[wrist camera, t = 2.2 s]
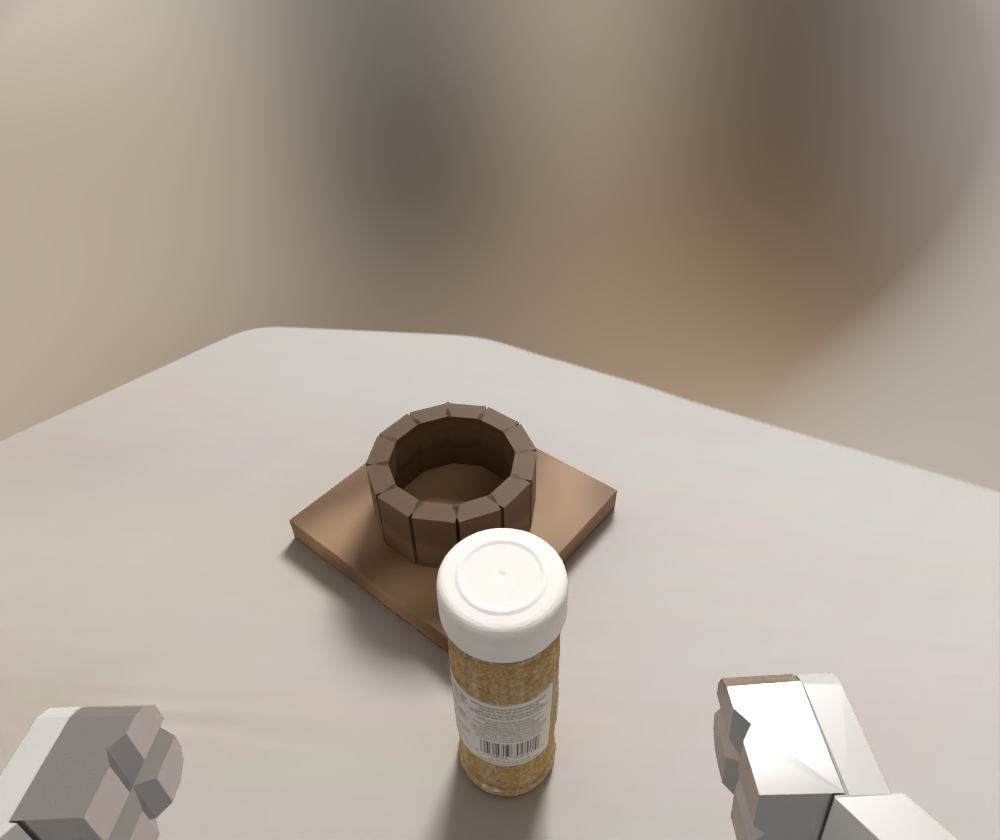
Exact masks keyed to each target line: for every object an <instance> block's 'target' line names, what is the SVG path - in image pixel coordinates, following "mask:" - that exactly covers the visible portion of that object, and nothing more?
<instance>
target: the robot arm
mask: <svg viewBox="0 0 1000 840" xmlns="http://www.w3.org/2000/svg"><path fill="white" fill-rule="evenodd" d="M717 695H718V699H719V703H720V707H721V709H719V710H718V711H717V712H716V713H715V716H714V742H715V751H716V757H717V762H718V767H719V771H720V775H721V779H722V783H723V784H724V785H725V786H726V787H727V788H728V789H729V790H730V791H731V792H732V793H733V794H734V798H733V805H732V812H731V819H732V823H733V827H734V830H735V834H736V838H737V840H958V839H956V838H955V837H954V836H953V835H952V834H951V833H949V832H948V831H947V830H946V829H945V828H944V827H943V826H941V825H940V824H939V823H938V822H937V821H936V820H934V819H933V818H932V817H931V816H930V815H929V814H928V813H926V812H925V811H924V810H923V809H922V808H921V807H919V806H918V805H917V804H916V803H915V802H914V801H913V800H911V799H910V798H909V797H908V796H907V795H906V794H904V793H892V792H891V790H890V788H889V786H888V783H887V781H886V779H885V777H884V775H883V772H882V770H881V768H880V766H879V764H878V761H877V759H876V757H875V755H874V753H873V751H872V748H871V746H870V744H869V742H868V740H867V737H866V735H865V733H864V731H863V729H862V727H861V724H860V722H859V720H858V718H857V716H856V713H855V711H854V709H853V707H852V705H851V702H850V700H849V698H848V696H847V694H846V692H845V689H844V687H843V685H842V683H841V681H840V680H839V679H838V678H837V677H836V676H835V675H834V674H832V673H820V674H804V675H793V674H784V675H768V676H752V677H736V678H722V679H721V680H720V682H719V684H718V691H717ZM163 719H164V717H163V716H162V714H161V713H160V712H159V710H158V709H157V707H156V706H155V705H130V706H101V707H65V708H49V709H47V710H46V711H45V712H44V713H43V714H41V715H40V716H39V717H38V718H37V719H36V720H35V721H34V723H33V725H32V726H31V728H30V729H29V731H28V733H27V734H26V736H25V737H24V739H23V740H22V742H21V744H20V745H19V747H18V748H17V750H16V751H15V753H14V755H13V756H12V758H11V759H10V761H9V763H8V764H7V766H6V767H5V769H4V770H3V772H2V774H1V775H0V840H157V839H158V837H159V830H158V826H157V821H156V818H157V817H158V816H159V815H160V814H161V813H162V812H163V811H164V810H165V809H166V808H167V807H168V806H169V805H170V804H171V803H172V802H173V800H174V797H175V794H176V792H177V789H178V787H179V784H180V781H181V774H182V766H183V756H182V750H181V745H180V744H179V742H178V740H177V739H176V737H175V736H174V735H173V734H171V733H169V732H167V731H166V730H164V729H162V728H160V726H161V723H162V721H163Z"/></svg>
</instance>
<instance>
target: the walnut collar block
mask: <svg viewBox="0 0 1000 840" xmlns="http://www.w3.org/2000/svg"><path fill="white" fill-rule="evenodd" d="M379 435H380V437H379V436H377V439H376V441H375V443H374V446H373V448H372V450H371V453H370V455H369V458H368V460H367V462H366V463H365V464H364V465H363V466H361V467H360V468H359V469H357V470H356V471H355V472H353V473H352V474H351V475H349V476H348V477H347V478H345V479H344V480H343V481H341V482H340V483H339V484H337V485H336V486H335V487H333V488H332V489H331V490H329V491H328V492H327V493H325V494H324V495H323V496H321V497H320V498H319V499H317V500H316V501H315V502H313V503H312V504H311V505H309V506H308V507H307V508H305V509H304V510H303V511H301V512H300V513H299V514H297V515H296V516H295V517H293V518H292V519H291V520H290V523H291V526H292V529H293V532H294V536H295V537H296V538H297V539H299V540H300V541H301V542H303V543H304V544H305V545H307V546H308V547H309V548H311V549H312V550H313V551H315V552H316V553H317V554H319V555H320V556H321V557H322V558H324V559H325V560H326V561H328V562H329V563H330V564H332V565H333V566H334V567H336V568H337V569H338V570H340V571H341V572H342V573H344V574H345V575H346V576H348V577H349V578H350V579H351V580H353V581H354V582H355V583H357V584H358V585H359V586H361V587H362V588H363V589H365V590H366V591H367V592H369V593H370V594H371V595H373V596H374V597H375V598H377V599H378V600H379V601H381V602H382V603H383V604H384V605H386V606H387V607H388V608H390V609H391V610H392V611H394V612H395V613H396V614H398V615H399V616H400V617H402V618H403V619H404V620H406V621H407V622H408V623H410V624H411V625H412V626H413V627H415V628H416V629H417V630H419V631H420V632H421V633H423V634H424V635H425V636H427V637H428V638H429V639H431V640H432V641H433V642H435V643H436V644H437V645H439V646H440V647H441V648H443V649H444V650H445V651H446V652H448V653H449V648H448V645H449V644H448V638H447V634H446V632H445V630H444V628H443V626H442V624H441V620H440V616H439V608H438V600H437V586H436V583H437V575H438V571H439V568H440V565H441V563H442V562H443V560H444V558H445V556H446V555H447V554H448V552H449V551H450V550H451V549H452V548H453V547H454V546H455V545H456V544H458V543H459V542H460V541H462V540H463V539H465V538H466V537H468V536H470V535H472V534H475V533H477V532H480V531H484V530H488V529H495V528H510V529H517V530H522V531H526V532H529V533H531V534H533V535H535V536H537V537H539V538H541V539H542V540H544V541H545V542H547V543H548V544H549V545H550V546H551V547H552V548H553V549H554V550H555V551H556V552H557V554H558V555H559V556H560V558H561V559H562V561H563V564H564V563H565V562H566V560H567V559H568V558H569V557H570V556H571V555H572V554H573V553H574V552H575V550H576V549H577V548H578V547H579V546H580V545H581V544H582V543H583V542H584V540H585V539H586V538H587V537H588V536H589V535H590V534H591V533H592V532H593V530H594V529H595V528H596V527H597V526H598V525H599V524H600V523H601V522H602V520H603V519H604V518H605V517H606V516H607V515H608V514H609V513H610V512H611V510H612V509H613V508H614V507H615V501H616V493H617V490H615V489H613V488H611V487H609V486H607V485H606V484H604V483H602V482H600V481H598V480H596V479H594V478H592V477H590V476H588V475H586V474H585V473H583V472H581V471H579V470H577V469H575V468H573V467H571V466H569V465H567V464H565V463H564V462H562V461H560V460H558V459H556V458H554V457H552V456H550V455H548V454H546V453H545V452H543V451H541V450H539V449H537V448H535V446H534V445H533V443H532V441H531V440H530V438H529V437H528V435H527V433H526V432H525V430H524V429H523V427H522V425H521V424H520V425H519V422H517V421H515V420H513V419H511V418H509V417H507V416H505V415H503V414H501V413H499V412H497V411H495V410H493V409H491V408H488V409H486V406H474V405H463V404H452V403H449V402H447V403H445V404H442V405H438V406H434V407H430V408H426V409H422V410H419V411H415V412H411V413H410V415H408V414H406V415H405V416H404V417H402V418H401V419H399V420H398V421H397V422H395V423H394V424H393V425H391V426H390V427H388V428H387V429H386V430H384V431H383V432H382V433H380V434H379Z"/></svg>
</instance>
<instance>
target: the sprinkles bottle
mask: <svg viewBox="0 0 1000 840" xmlns="http://www.w3.org/2000/svg"><path fill="white" fill-rule="evenodd" d="M436 586H437V600H438V608H439V616H440V620H441V624H442V626H443V628H444V630H445V632H446V634H447V638H448V644H449V645H448V648H449V667H450V674H451V682H452V690H453V698H454V707H455V714H456V722H457V727H458V731H459V736H460V740H459V755H460V760H461V764H462V767H463V769H464V770H465V772H466V774H467V775H468V777H469V778H470V779H471V780H472V781H473V783H474V784H475V785H476V786H478V787H480V788H481V789H482V790H484V791H486V792H487V793H489V794H494V795H498V796H517V795H520V794H524V793H527V792H529V791H531V790H532V789H533V788H535V787H536V786H537V785H539V784H540V783H541V782H542V781H543V780H544V779H545V777H546V775H547V774H548V773H549V771H550V769H551V767H552V765H553V762H554V757H555V750H556V743H555V738H554V729H555V723H556V720H557V711H558V697H559V677H558V674H559V655H560V632H561V630H562V627H563V625H564V622H565V619H566V614H567V603H568V578H567V572H566V569H565V566H564V564H563V561H562V559H561V558H560V556H559V555H558V554H557V552H556V551H555V550H554V549H553V548H552V547H551V546H550V545H549V544H548V543H547V542H545V541H544V540H542V539H541V538H539V537H537V536H535V535H533V534H531V533H529V532H526V531H522V530H517V529H510V528H495V529H488V530H484V531H480V532H477V533H475V534H472V535H470V536H468V537H466V538H465V539H463V540H462V541H460V542H459V543H458V544H456V545H455V546H454V547H453V548H452V549H451V550H450V551H449V552H448V554H447V555H446V556H445V558H444V560H443V562H442V563H441V565H440V568H439V571H438V575H437V583H436Z"/></svg>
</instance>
